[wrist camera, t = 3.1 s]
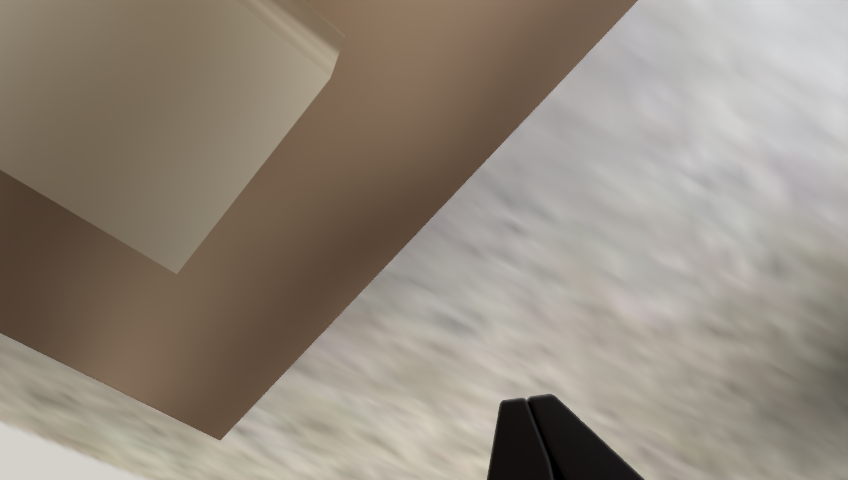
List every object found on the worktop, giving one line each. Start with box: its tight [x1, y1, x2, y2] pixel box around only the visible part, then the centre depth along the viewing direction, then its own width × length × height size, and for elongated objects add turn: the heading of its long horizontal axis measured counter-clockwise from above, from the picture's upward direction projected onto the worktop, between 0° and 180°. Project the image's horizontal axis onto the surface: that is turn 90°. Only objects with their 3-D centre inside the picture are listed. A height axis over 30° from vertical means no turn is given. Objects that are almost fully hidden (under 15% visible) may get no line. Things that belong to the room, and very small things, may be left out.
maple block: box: [0, 0, 345, 274], centre depth 9 cm, size 4×4×4 cm
